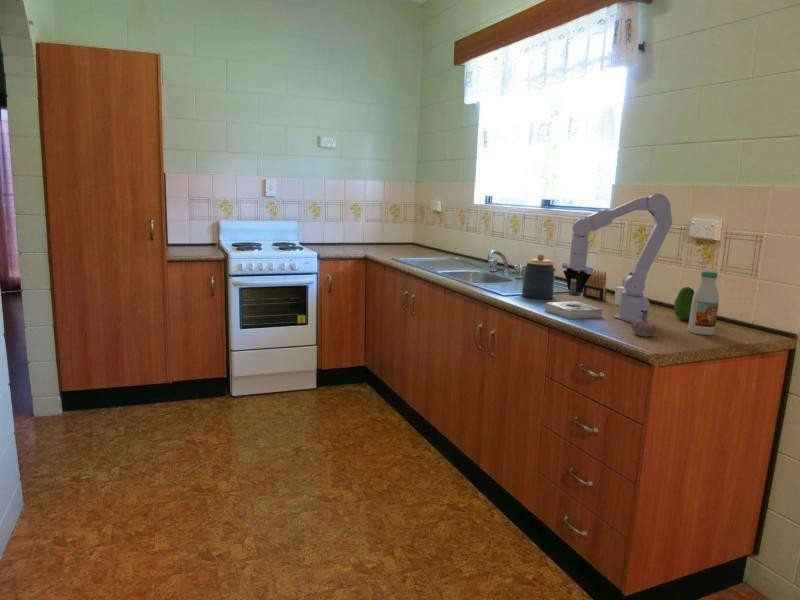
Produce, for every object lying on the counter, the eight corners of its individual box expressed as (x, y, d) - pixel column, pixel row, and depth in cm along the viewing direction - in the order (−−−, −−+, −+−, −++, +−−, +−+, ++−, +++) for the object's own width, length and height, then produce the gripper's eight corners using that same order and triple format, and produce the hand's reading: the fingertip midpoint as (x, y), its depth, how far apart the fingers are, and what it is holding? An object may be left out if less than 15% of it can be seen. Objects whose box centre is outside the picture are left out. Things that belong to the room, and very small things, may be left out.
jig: (601, 317, 209) (602, 308, 208) (570, 319, 203) (570, 310, 203) (575, 309, 221) (576, 301, 221) (544, 310, 216) (545, 302, 215)
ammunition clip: (605, 301, 241) (608, 272, 238) (602, 301, 240) (605, 272, 238) (585, 296, 250) (588, 268, 248) (582, 296, 249) (585, 268, 247)
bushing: (583, 295, 210) (584, 279, 209) (574, 296, 208) (576, 279, 207) (575, 293, 214) (576, 277, 213) (566, 294, 212) (568, 277, 211)
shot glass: (633, 306, 230) (635, 289, 229) (614, 305, 232) (616, 288, 230) (629, 303, 237) (632, 286, 236) (612, 302, 238) (614, 285, 237)
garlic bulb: (636, 331, 191) (639, 306, 189) (659, 335, 186) (662, 310, 184) (626, 334, 185) (629, 309, 184) (649, 339, 180) (653, 313, 179)
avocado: (667, 318, 211) (672, 285, 209) (680, 316, 216) (684, 284, 213) (688, 323, 205) (693, 289, 202) (701, 321, 209) (706, 288, 207)
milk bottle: (684, 332, 191) (692, 271, 188) (692, 328, 197) (701, 269, 193) (709, 337, 186) (718, 274, 182) (717, 333, 191) (726, 272, 188)
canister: (535, 292, 253) (538, 251, 250) (559, 298, 243) (563, 255, 240) (514, 295, 245) (518, 253, 242) (539, 300, 235) (543, 256, 232)
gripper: (556, 251, 213) (553, 287, 216) (583, 256, 200) (579, 295, 203) (572, 250, 216) (568, 287, 218) (600, 255, 203) (595, 294, 205)
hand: (575, 291), depth 211 cm, fingers closed on bushing, 4 cm apart
